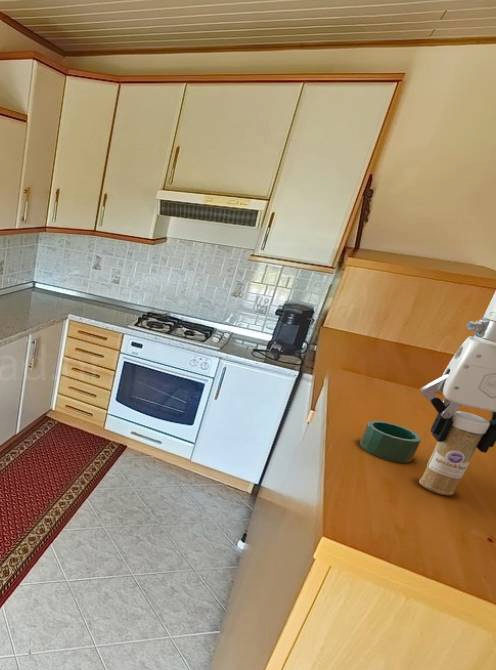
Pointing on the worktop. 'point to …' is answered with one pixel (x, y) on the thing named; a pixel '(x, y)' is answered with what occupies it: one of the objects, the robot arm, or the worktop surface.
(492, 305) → the robot arm
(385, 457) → the holder
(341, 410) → the worktop surface
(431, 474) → the sprinkles bottle
